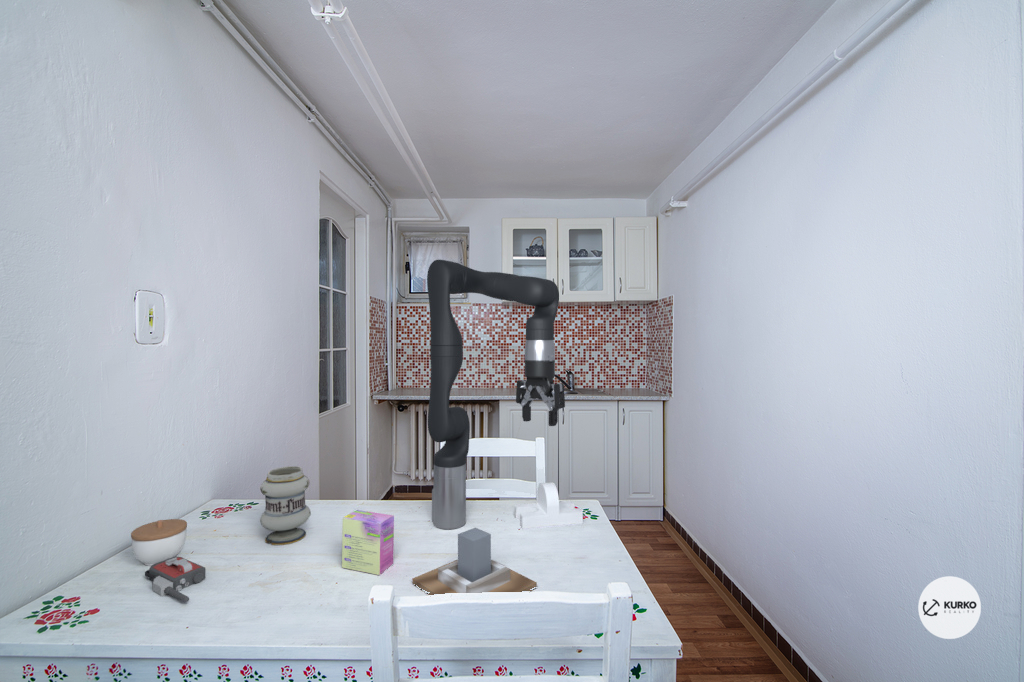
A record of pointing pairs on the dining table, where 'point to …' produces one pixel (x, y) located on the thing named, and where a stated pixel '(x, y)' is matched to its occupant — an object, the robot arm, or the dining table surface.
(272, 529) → the apothecary jar
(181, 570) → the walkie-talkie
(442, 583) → the pocket plate
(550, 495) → the white base with disc
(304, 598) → the dining table surface
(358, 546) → the box
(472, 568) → the gray rectangular block
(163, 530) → the lidded jar
